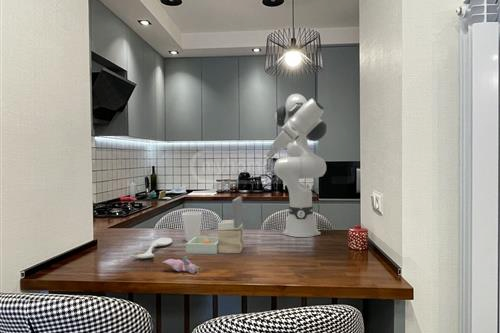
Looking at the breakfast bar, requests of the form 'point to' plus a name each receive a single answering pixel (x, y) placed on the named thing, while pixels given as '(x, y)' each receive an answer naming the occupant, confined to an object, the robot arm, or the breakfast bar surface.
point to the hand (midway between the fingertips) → (268, 156)
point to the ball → (206, 241)
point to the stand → (230, 241)
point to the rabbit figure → (180, 266)
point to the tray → (202, 246)
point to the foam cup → (192, 224)
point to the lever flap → (237, 216)
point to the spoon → (155, 243)
